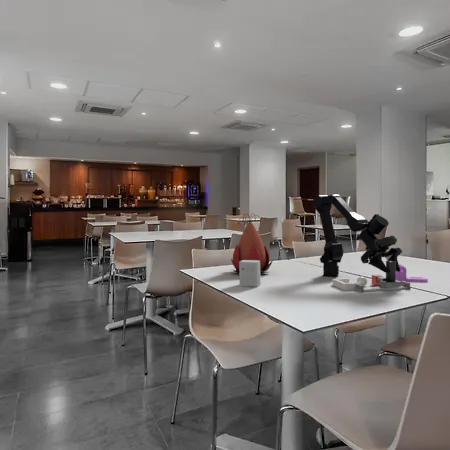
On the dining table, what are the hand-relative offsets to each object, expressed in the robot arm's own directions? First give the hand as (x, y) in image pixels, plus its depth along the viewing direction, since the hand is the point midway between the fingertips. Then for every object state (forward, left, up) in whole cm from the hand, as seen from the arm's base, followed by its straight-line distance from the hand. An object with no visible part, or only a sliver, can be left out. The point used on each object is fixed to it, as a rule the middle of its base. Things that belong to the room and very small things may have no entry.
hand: (393, 271), depth 149 cm
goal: (-17, -1, -7) cm, 19 cm away
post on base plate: (-3, +4, -7) cm, 8 cm away
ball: (-12, +3, -5) cm, 13 cm away
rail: (-4, -1, -7) cm, 8 cm away
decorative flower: (-65, +16, -7) cm, 67 cm away
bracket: (+8, +22, -7) cm, 24 cm away
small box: (-56, -12, -7) cm, 58 cm away
